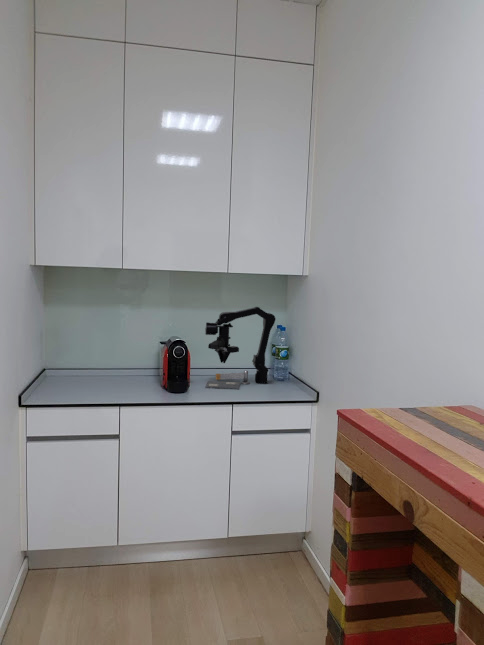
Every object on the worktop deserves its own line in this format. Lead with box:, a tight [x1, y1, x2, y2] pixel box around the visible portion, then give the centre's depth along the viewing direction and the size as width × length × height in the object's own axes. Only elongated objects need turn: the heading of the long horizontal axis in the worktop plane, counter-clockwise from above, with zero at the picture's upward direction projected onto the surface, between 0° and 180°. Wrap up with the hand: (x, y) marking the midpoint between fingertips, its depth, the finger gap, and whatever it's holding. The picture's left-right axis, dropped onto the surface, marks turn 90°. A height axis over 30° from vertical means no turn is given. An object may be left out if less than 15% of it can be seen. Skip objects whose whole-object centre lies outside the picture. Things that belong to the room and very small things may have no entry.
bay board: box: [204, 380, 241, 390], centre depth 272 cm, size 18×14×1 cm
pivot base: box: [240, 381, 251, 385], centre depth 279 cm, size 5×5×1 cm
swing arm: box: [215, 370, 249, 383], centre depth 276 cm, size 19×2×6 cm, turn 113°
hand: (222, 362), depth 278 cm, fingers closed
